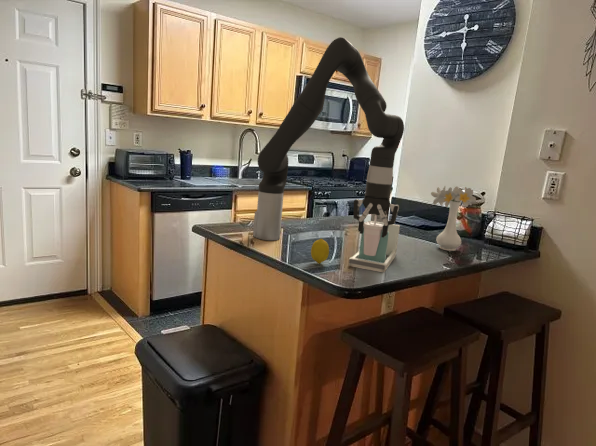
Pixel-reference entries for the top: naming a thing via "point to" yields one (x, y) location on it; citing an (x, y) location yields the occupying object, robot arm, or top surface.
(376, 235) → the smoothie
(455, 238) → the flower vase
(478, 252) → the top surface
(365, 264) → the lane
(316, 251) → the lemon
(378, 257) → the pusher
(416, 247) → the top surface
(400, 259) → the top surface
